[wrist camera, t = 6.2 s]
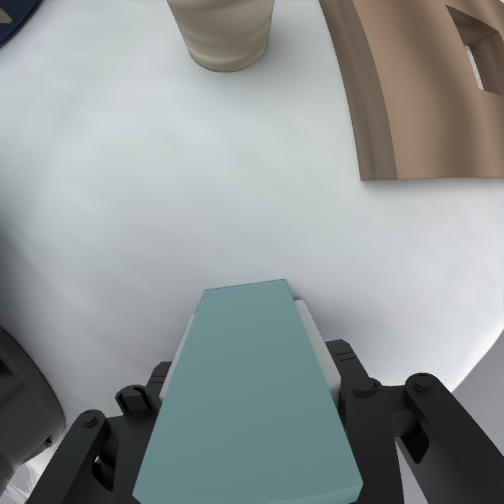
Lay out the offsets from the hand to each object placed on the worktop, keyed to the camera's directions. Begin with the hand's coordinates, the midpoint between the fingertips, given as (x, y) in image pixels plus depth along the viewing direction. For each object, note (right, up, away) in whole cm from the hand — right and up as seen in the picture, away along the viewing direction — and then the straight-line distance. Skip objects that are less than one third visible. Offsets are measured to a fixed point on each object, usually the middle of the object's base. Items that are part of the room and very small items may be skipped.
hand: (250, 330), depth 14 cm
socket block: (+15, +17, -2) cm, 23 cm away
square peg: (0, 0, +1) cm, 1 cm away
